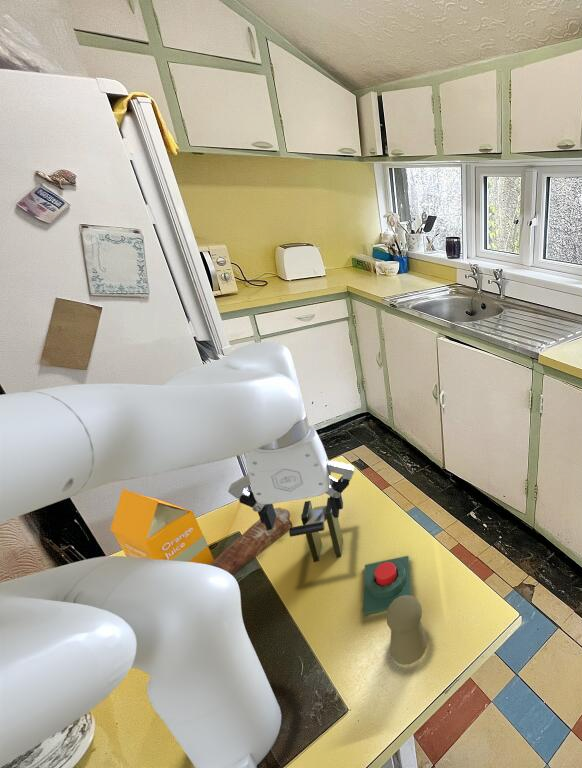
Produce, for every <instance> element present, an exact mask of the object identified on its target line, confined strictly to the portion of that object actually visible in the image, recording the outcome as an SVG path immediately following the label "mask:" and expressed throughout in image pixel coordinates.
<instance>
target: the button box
mask: <svg viewBox="0 0 582 768" xmlns="http://www.w3.org/2000/svg"><path fill="white" fill-rule="evenodd" d="M385 562H391V563H393V564H394V565H395V567H396V573H397V576H396V579H395V581H394V582H393V583H391V584H389V585H387V586H381V585H379V584H378V583H377V582H376V578H375V570H376V568H377V567H378V566H379V565H380V564H382V563H385ZM363 574H364V576H363V577H364V578H363V579H364V580H363V606H362V607H363V608H362V609H363V610H362V614H363V617H366V616H371V615H376V614H379V613H383V612H387V609H388V607H389V605H390V604H391V603H392V602H393V601H394V600H395V599H396V598H398V597H400V596H403V595H409V596H413V595H412V584H411V571H410V558H409V555H404V556H401V557H396V558H395V557H394V558H391V559H387V560H381V561H376V562H372V563H367V564H364V573H363Z"/></svg>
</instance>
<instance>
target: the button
mask: <svg viewBox="0 0 582 768" xmlns="http://www.w3.org/2000/svg"><path fill="white" fill-rule="evenodd" d="M396 576H397V573H396V567H395V565H394V564H393V563H391V562H385V563H382V564H380V565H379V566H378V567H377V568H376V570H375V578H376V582H377V583H378V584H379V585H381V586H387V585H389V584H391V583H393V582H394V581H395V579H396Z"/></svg>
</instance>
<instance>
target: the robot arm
mask: <svg viewBox="0 0 582 768" xmlns="http://www.w3.org/2000/svg"><path fill="white" fill-rule="evenodd" d="M298 379H299V378H298V375H297V371H296V367H295V363H294V359H293V356H292V353H291V351H290V349H289V348H288V347H287V346H286V345H284V344H282V343H280V342H276V341H275V342H274V341H261V342H259V341H258V342H253V343H249V344H248V343H247V344H244V345H242V346H239V347H236V348H235V349H233V350H232V351H231V352H230V353H229V354H227V356H225V357H222V358H219V359H215V360H213V361H209V362H206V363H203V364H200V365H196V366H193V367H190V368H187V369H185V370H182V371H181V372H179V373H177V374H175V375H174V376H172V377H171V378H170V379H168V380H167V381H166V382H165V383H164V384H161V385H160V384H143V383H76V384H67V385H59V386H52V387H47V388H40V389H32V390H25V391H17V392H12V393H3V394H0V524H2V523H5V522H7V521H10V520H12V519H15V518H18V517H21V516H24V515H26V514H29V513H31V512H34V511H36V510H40V509H42V508H45V507H47V506H50V505H53V504H55V503H58V502H61V501H64V500H67V499H69V498H71V497H74V496H77V495H80V494H83V493H85V492H89V491H91V490H94V489H98V488H99V487H102V486H106V485H108V484H109V485H110V484H111V483H117V482H123V481H127V480H135V479H141V478H145V477H152V476H157V475H160V474H164V473H170V472H173V471H178V470H182V469H187V468H191V467H197V466H201V465H206V464H210V463H211V464H212V463H214V462H219V461H225V460H227V459H231V458H235V457H239V456H241V455H244V454H245V463H246V470H247V474H246V475H244V476H243V477H240V478H239V479H237V480H235V481H234V482H232V483H231V484H230V486H229V487H228V491H227V492H228V493H229V494H230V495H231V496H232V497H234V498H235V499H238V501H239V503H240V504H242V505H245V506H247V507H249V508H252V511H253V512H254V513H255V512H256V513H257V514H258V517H259V519H260V520H261V523H265V526H266V529H267V530H271V529H273V526H274V523H275V519H276V513H275V510H274V509H275V507H274V505H273V504H280V503H287V502H292V501H299V500H303V499H310V498H315V497H320V496H323V495H325V494H327V495H328V496H329V498H330V505H331V509H332V513H333V517H335V518H338V519H339V517H340V510H343V508H344V501H343V500H344V499H343V497H342V496H343V495H342V493H343V492H344V491H345V490H346V489H347V487H349V485H350V482H351V480H352V479H353V476H354V473H355V466H354V465H352V464H348V463H344V462H339V461H335V460H330V459H328V456H327V453H326V449H325V446H324V444H323V441H322V440H321V437H320V436H319V434H318V432H317V430H316V428H315V427H314V426H312V425H310V424H309V423H310V422H309V419H308V415H307V411H306V408H305V404H304V403H305V402H304V399H303V396H302V392H301V387H300V383H299V380H298ZM332 473H333V474H339V475H341V476H340V478H339V479H336V478H335V477H333V476H331V475H332ZM249 487H251V488H250V489H251V490H248V489H247V488H249ZM131 668H132V669H137V670H138V671H139V670H140V671H142V672H144V673H146V674H147V675H149V677H148V680H147V684H146V685H147V686H146V694H147V699H148V701H149V703H150V705H151V707H152V708H153V710H154V711H155V712H156V714H157V715H158V717H159V718H160V720H161V721H162V722H163V723H164V725H165V726H166V727H167V729H168V730H169V732H170V733H171V735H172V736H173V738H174V739H175V740H176V742H177V743H178V745H179V746H180V748H181V749H182V750H183V752H184V753H185V755H186V756H187V757H188V759H189V760H190V762H191V764H192V765H193V766H194V768H258V765H259V764H260V763H261V762H262V761H263V760H264V759H265V757H266V756H267V755H268V753H270V750H272V748H273V746H274V744H275V742H276V740H277V738H278V736H279V733H280V730H281V726H282V716H283V715H282V711H281V707H280V704H279V703H278V700H277V698H276V696H275V693H274V691H273V688H272V687H271V684H270V681H269V680H268V678H267V675H266V673H265V670H264V668H263V666H262V664H261V661H260V660H259V656H258V655H257V653H256V650H255V648H254V646H253V644H252V640H251V639H250V637H249V635H248V632H247V630H246V626H245V623H244V619H243V612H242V599H241V590H240V586H239V583H238V581H237V579H236V578H235V577H234V575H233V576H232V575H231V574H230V573H228V572H227V571H225V570H223V569H221V568H218V567H215V566H211V565H207V564H201V563H194V562H183V561H173V560H163V559H161V560H157V559H147V558H136V557H126V556H122V555H107V556H106V555H105V556H98V557H97V556H96V557H92V558H88V559H87V558H86V559H83V560H79V561H75V562H70V563H67V564H64V565H60V566H56V567H53V568H49V569H45V570H42V571H38V572H34V573H31V574H27V575H24V576H20V577H16V578H12V579H9V580H5V581H1V582H0V768H2V767H4V766H6V765H8V764H9V763H10V762H12V761H14V760H15V759H17V758H19V757H21V756H22V755H24V754H25V753H27V752H29V751H30V750H33V748H36V747H37V746H38V745H40V744H41V743H44V742H45V741H46V740H48V739H50V738H51V737H53V736H55V735H56V734H58V733H59V732H61V731H63V730H64V729H66V728H67V727H69V726H70V725H72V724H73V723H75V722H76V721H78V720H80V719H81V718H83V717H84V716H85V715H87V714H88V713H90V712H91V711H92V710H94V709H95V708H96V707H98V706H99V705H100V704H102V703H103V701H105V700H106V699H107V698H108V697H109V696H110V695H111V694H112V693H113V692H114V691H115V690H116V689H117V688H118V686H119V685H120V684H121V683H122V682H123V680H124V679H125V678H126V677H127V675H128V674H129V672H130V670H131Z"/></svg>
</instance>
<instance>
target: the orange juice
mask: <svg viewBox="0 0 582 768" xmlns="http://www.w3.org/2000/svg"><path fill="white" fill-rule="evenodd" d="M109 530H110V531H111V533H112V534H113V536H114V537H115V539H116V541H117V542H118V544H119V546H120V547H121V549H122V551H123V553H124V555H125V557H136V558H147V559H157V560H161V559H163V560H173V561H183V562H194V563H201V564H207V565H210V564H211V563H212V562H213V561H214V560H215V559H214V556H213V554H212V552H211V550H210V548H209V545H208V542H207V540H206V537H205V535H204V534H203V532H202V530H201V527H200V525H199V523H198V520H197V518H196V516H195V514H194V511H193V510H191V509H187V508H185V507H183V506H179V505H177V504H173V503H170V502H168V501H165V500H163V499H159V498H154V497H151V496H148V495H145V494H144V495H142V494H140V493H136V492H133V491H131V490H128V489H125V488H122V490H121V494H120V496H119V500H118V503H117V506H116V510H115V512H114V516H113V518H112V522H111V526H110V528H109Z"/></svg>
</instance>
